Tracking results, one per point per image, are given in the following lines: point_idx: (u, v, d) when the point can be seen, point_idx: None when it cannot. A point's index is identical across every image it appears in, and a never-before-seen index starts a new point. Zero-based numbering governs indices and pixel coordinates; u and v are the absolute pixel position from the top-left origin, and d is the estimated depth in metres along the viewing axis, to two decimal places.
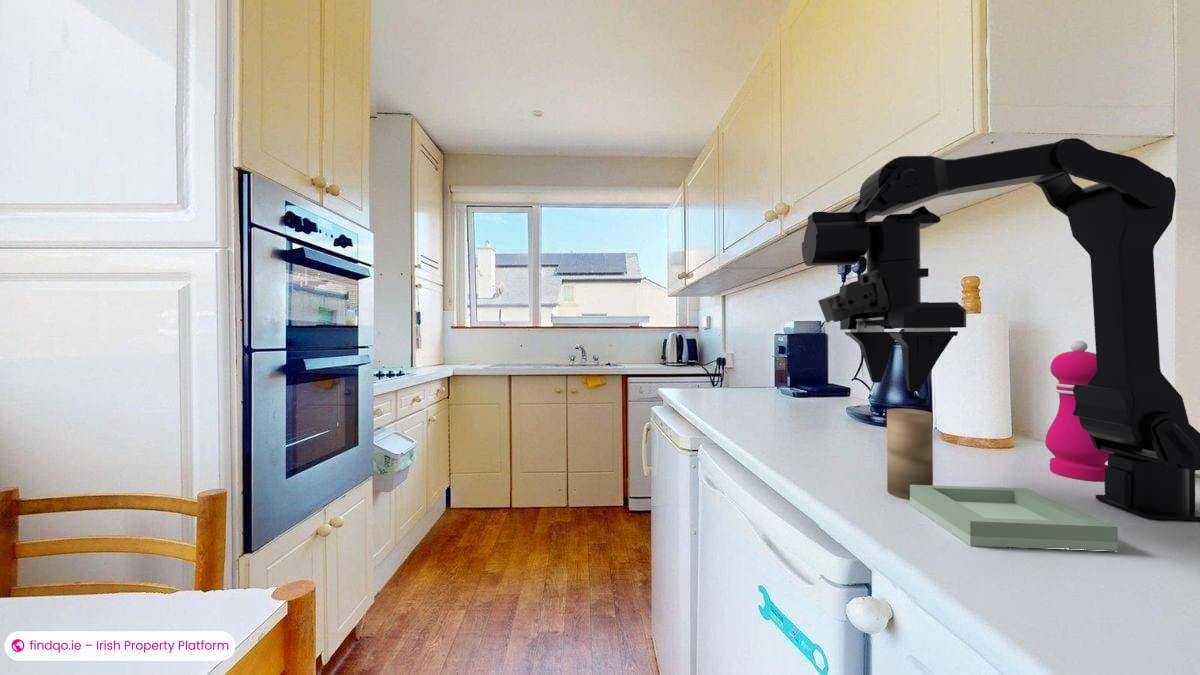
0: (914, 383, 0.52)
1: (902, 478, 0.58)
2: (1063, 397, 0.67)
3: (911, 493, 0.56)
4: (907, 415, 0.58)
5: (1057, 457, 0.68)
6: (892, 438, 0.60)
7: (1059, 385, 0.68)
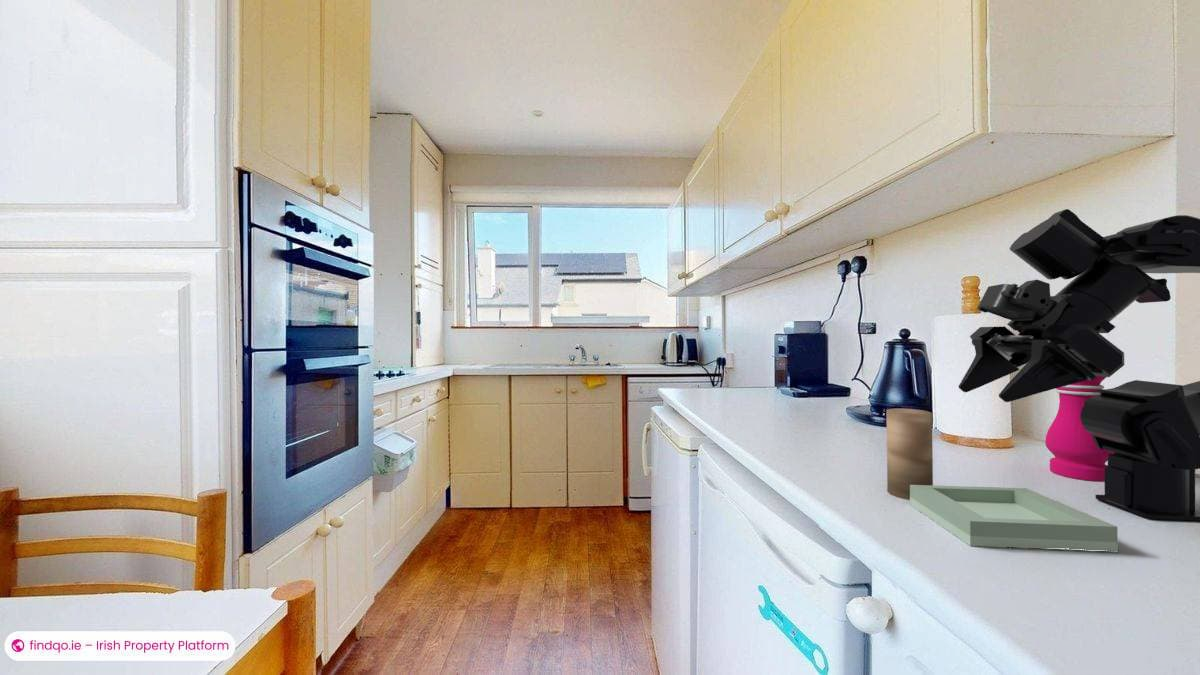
0: (1010, 393, 0.53)
1: (902, 478, 0.58)
2: (1063, 397, 0.67)
3: (911, 493, 0.56)
4: (907, 415, 0.58)
5: (1057, 457, 0.68)
6: (891, 438, 0.60)
7: None
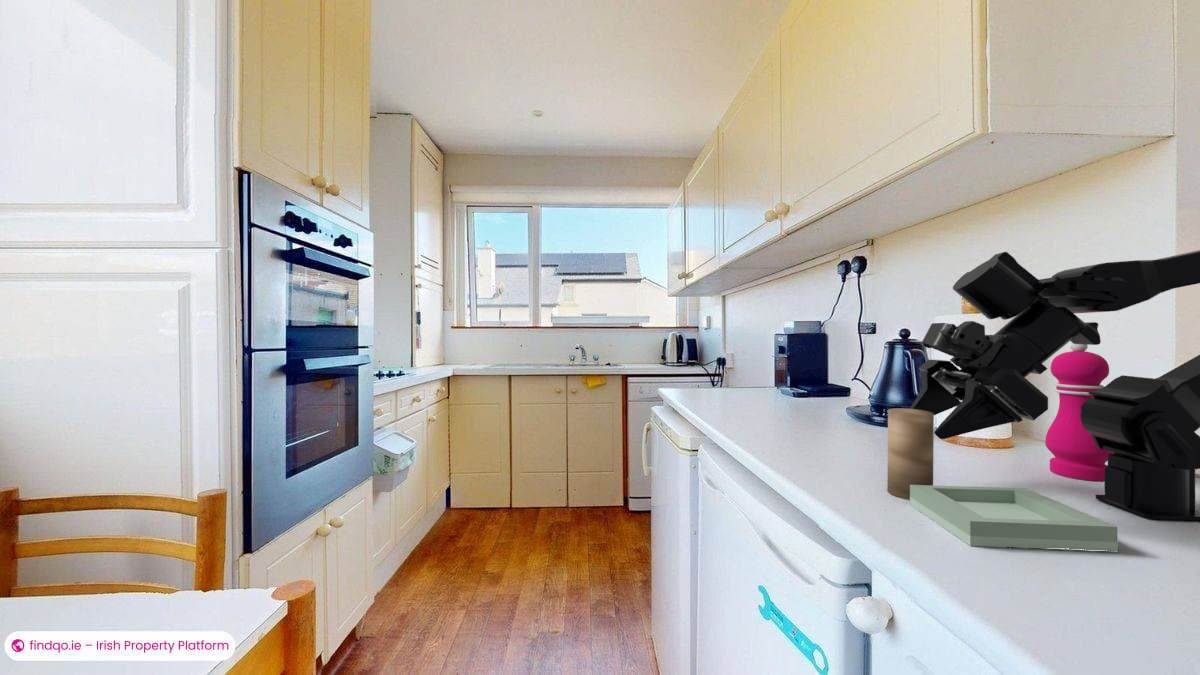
0: (944, 430, 0.55)
1: (903, 478, 0.58)
2: (1063, 397, 0.67)
3: (911, 493, 0.56)
4: (908, 415, 0.58)
5: (1057, 457, 0.68)
6: (893, 438, 0.60)
7: (1059, 385, 0.68)
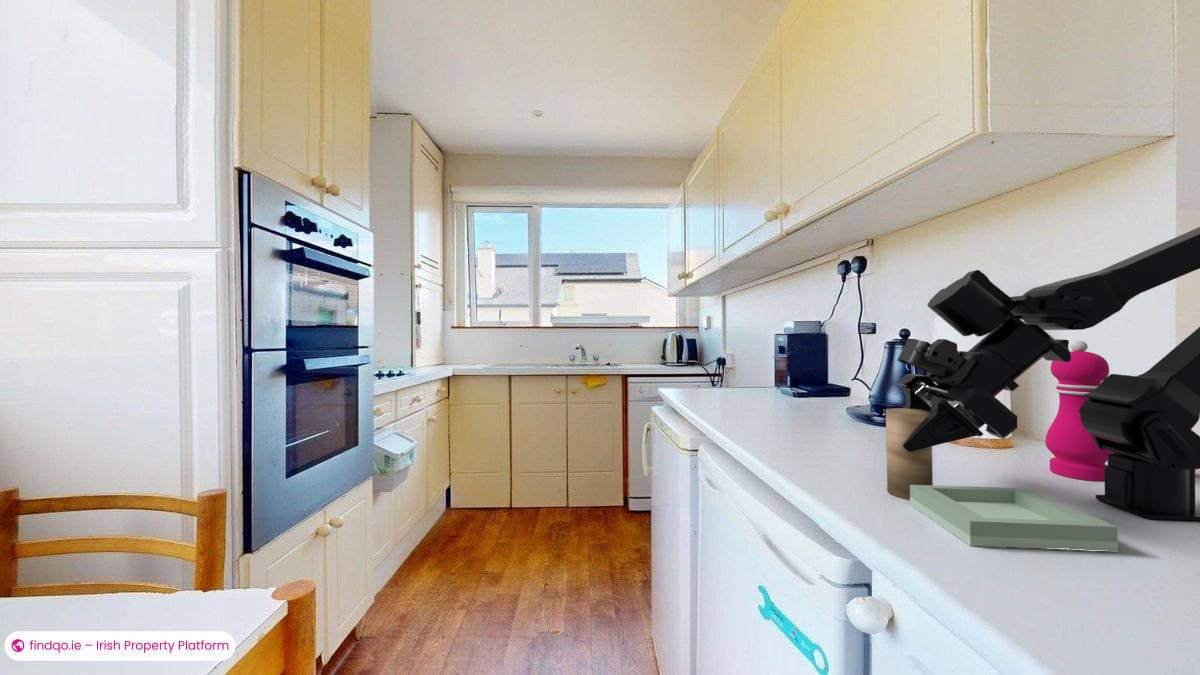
0: (911, 444, 0.57)
1: (903, 478, 0.58)
2: (1063, 397, 0.67)
3: (911, 493, 0.56)
4: (906, 415, 0.58)
5: (1057, 457, 0.68)
6: (891, 438, 0.60)
7: (1059, 385, 0.68)
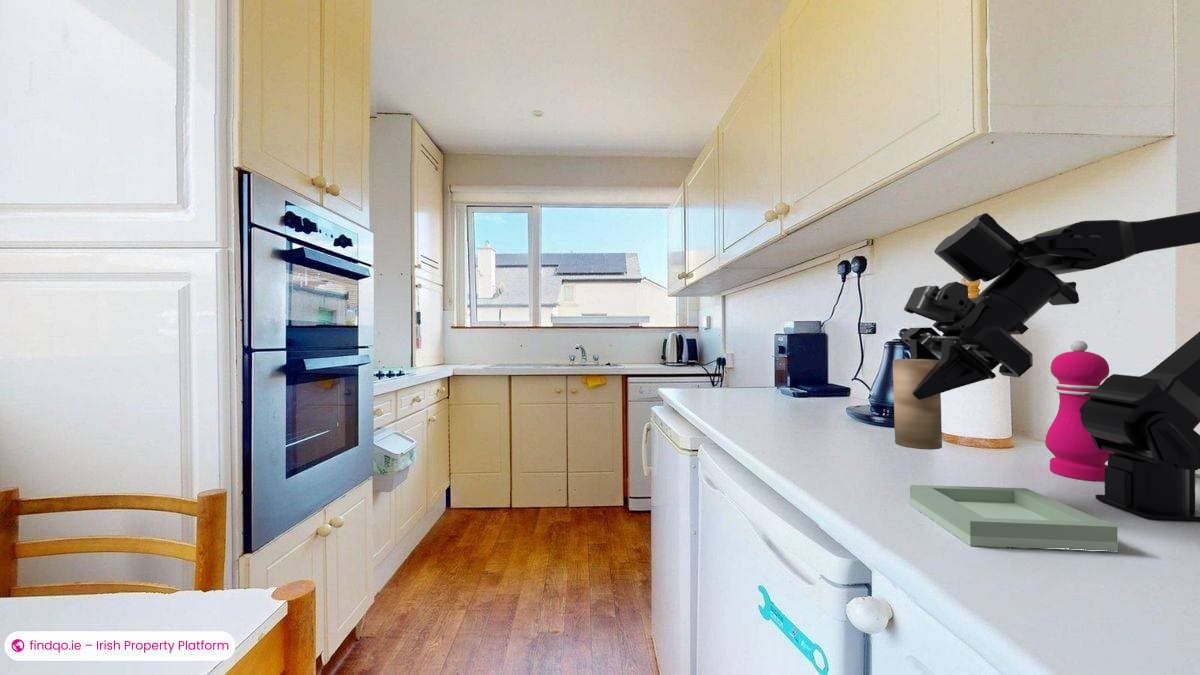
0: (922, 391, 0.56)
1: (912, 427, 0.57)
2: (1063, 397, 0.67)
3: (911, 493, 0.56)
4: (916, 362, 0.57)
5: (1057, 457, 0.68)
6: (900, 387, 0.58)
7: (1059, 385, 0.68)
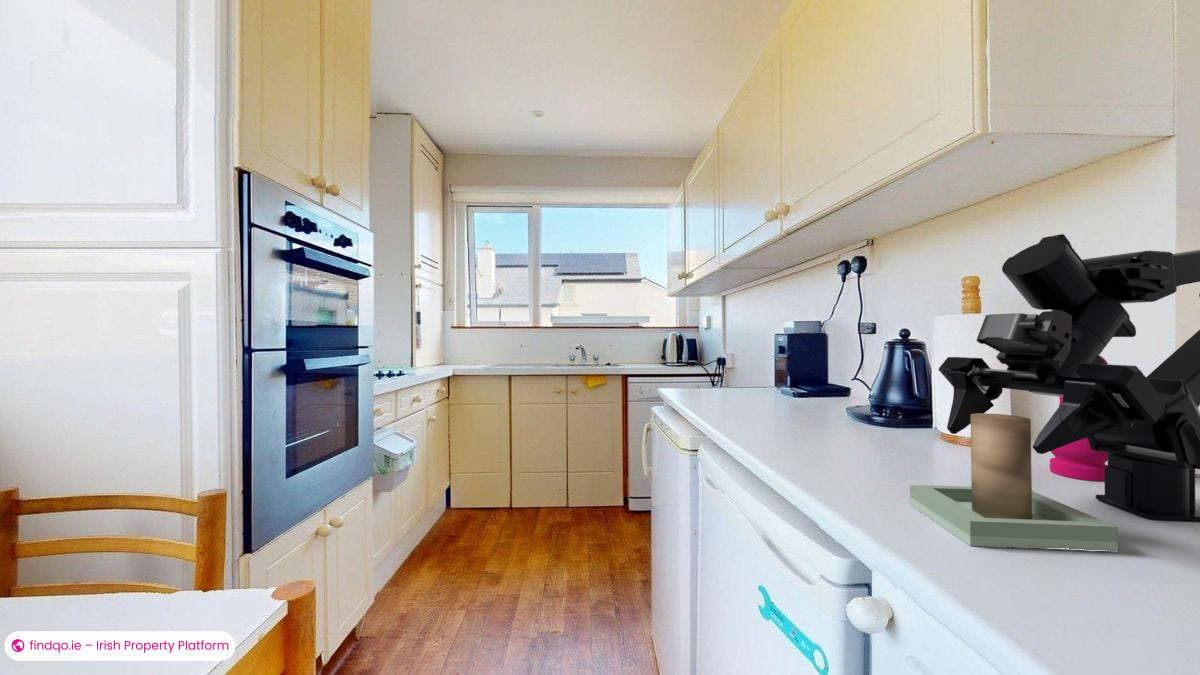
0: (1046, 443, 0.45)
1: (1009, 500, 0.48)
2: None
3: (911, 493, 0.56)
4: (1014, 422, 0.48)
5: (1057, 457, 0.68)
6: (991, 450, 0.49)
7: None
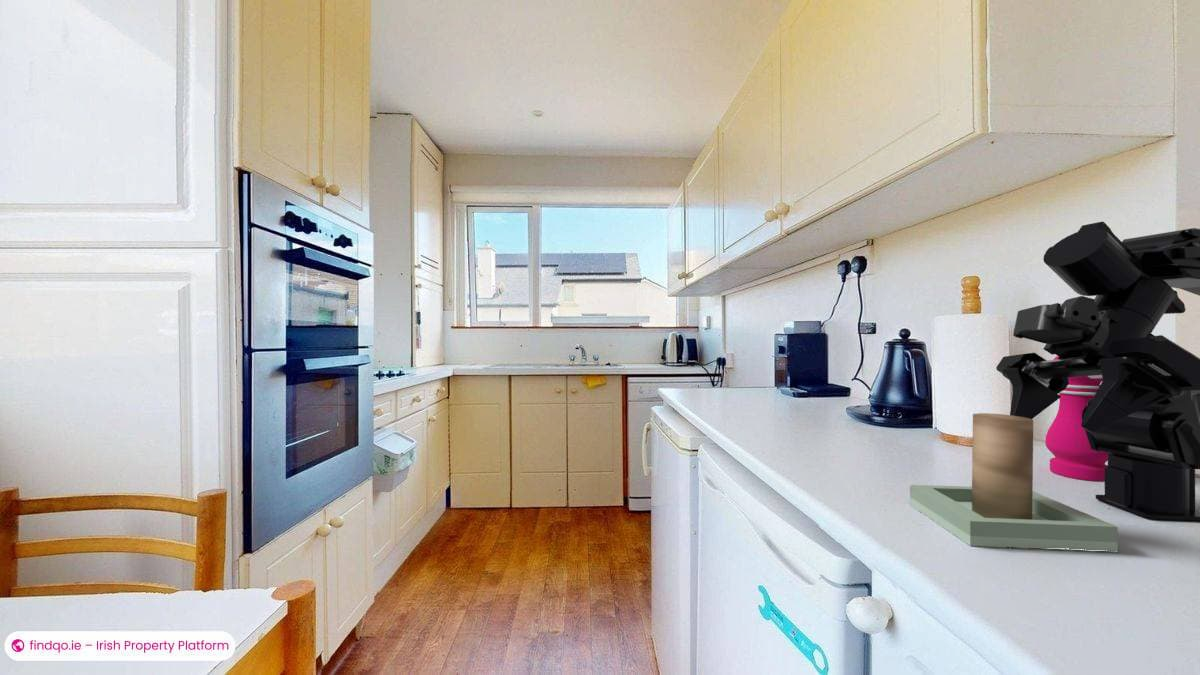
0: (1093, 421, 0.47)
1: (1009, 500, 0.48)
2: (1063, 397, 0.67)
3: (911, 493, 0.56)
4: (1017, 422, 0.48)
5: (1057, 457, 0.68)
6: (993, 451, 0.49)
7: None
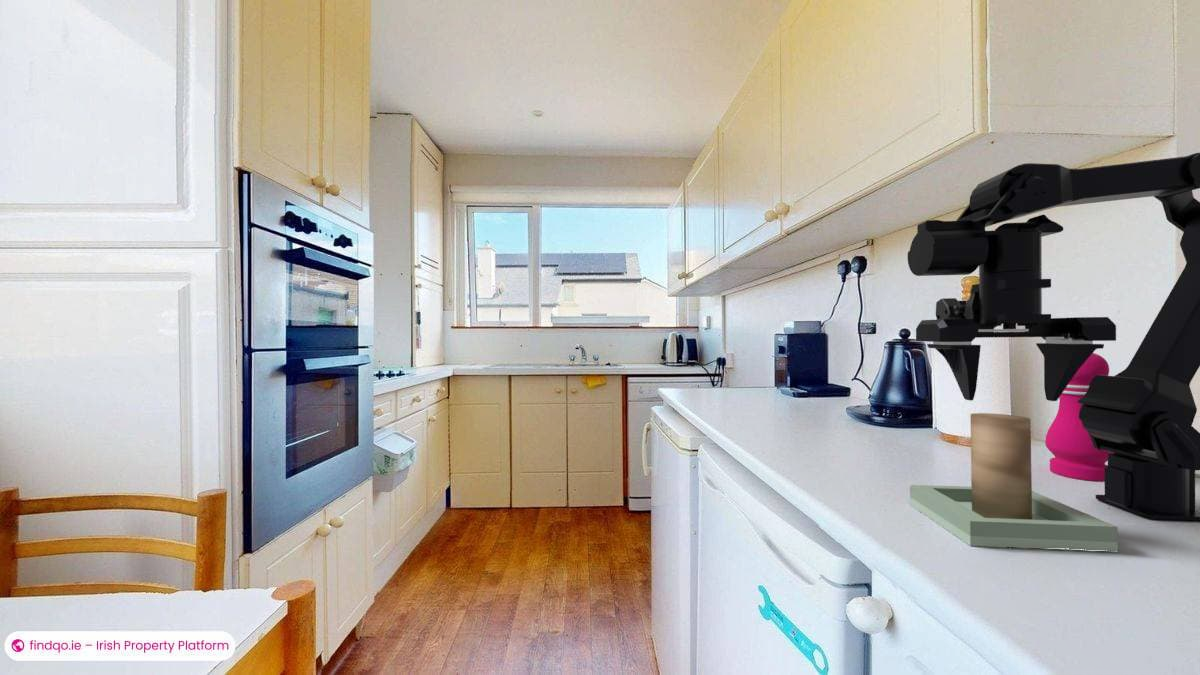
0: (963, 392, 0.57)
1: (1008, 499, 0.48)
2: (1063, 397, 0.67)
3: (911, 493, 0.56)
4: (1013, 421, 0.48)
5: (1057, 457, 0.68)
6: (990, 450, 0.49)
7: None
